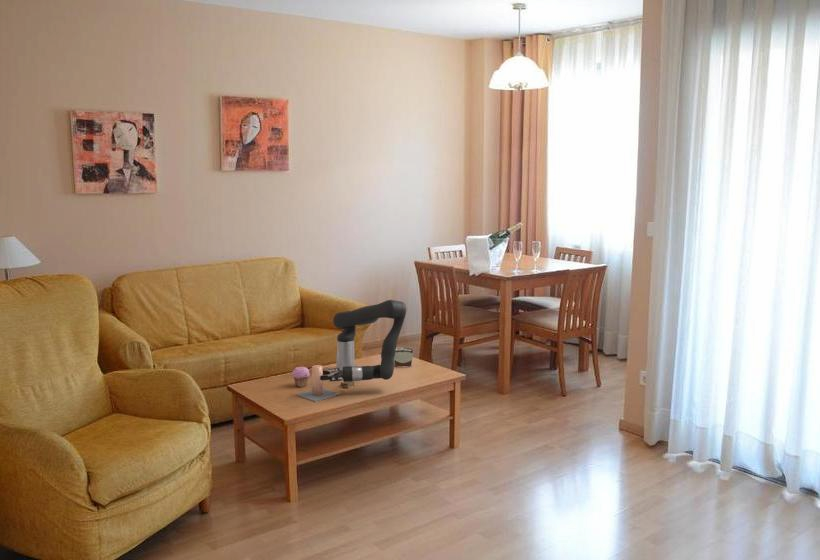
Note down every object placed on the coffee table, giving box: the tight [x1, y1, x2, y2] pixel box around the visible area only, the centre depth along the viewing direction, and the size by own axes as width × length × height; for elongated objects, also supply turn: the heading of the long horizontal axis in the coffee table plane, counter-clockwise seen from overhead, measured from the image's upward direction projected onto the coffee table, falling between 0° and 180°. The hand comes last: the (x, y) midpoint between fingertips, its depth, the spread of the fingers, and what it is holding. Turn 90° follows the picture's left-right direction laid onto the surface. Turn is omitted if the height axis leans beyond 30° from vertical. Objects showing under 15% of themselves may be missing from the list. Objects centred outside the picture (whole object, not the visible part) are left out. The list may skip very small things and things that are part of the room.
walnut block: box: [340, 380, 355, 389], centre depth 374 cm, size 5×5×2 cm
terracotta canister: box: [311, 364, 324, 396], centre depth 359 cm, size 5×5×14 cm
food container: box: [394, 346, 415, 367], centre depth 412 cm, size 12×6×10 cm, turn 84°
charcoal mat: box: [295, 388, 340, 403], centre depth 360 cm, size 15×15×1 cm
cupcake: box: [291, 366, 311, 388], centre depth 374 cm, size 9×9×10 cm
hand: (319, 375), depth 359 cm, fingers open, 8 cm apart
